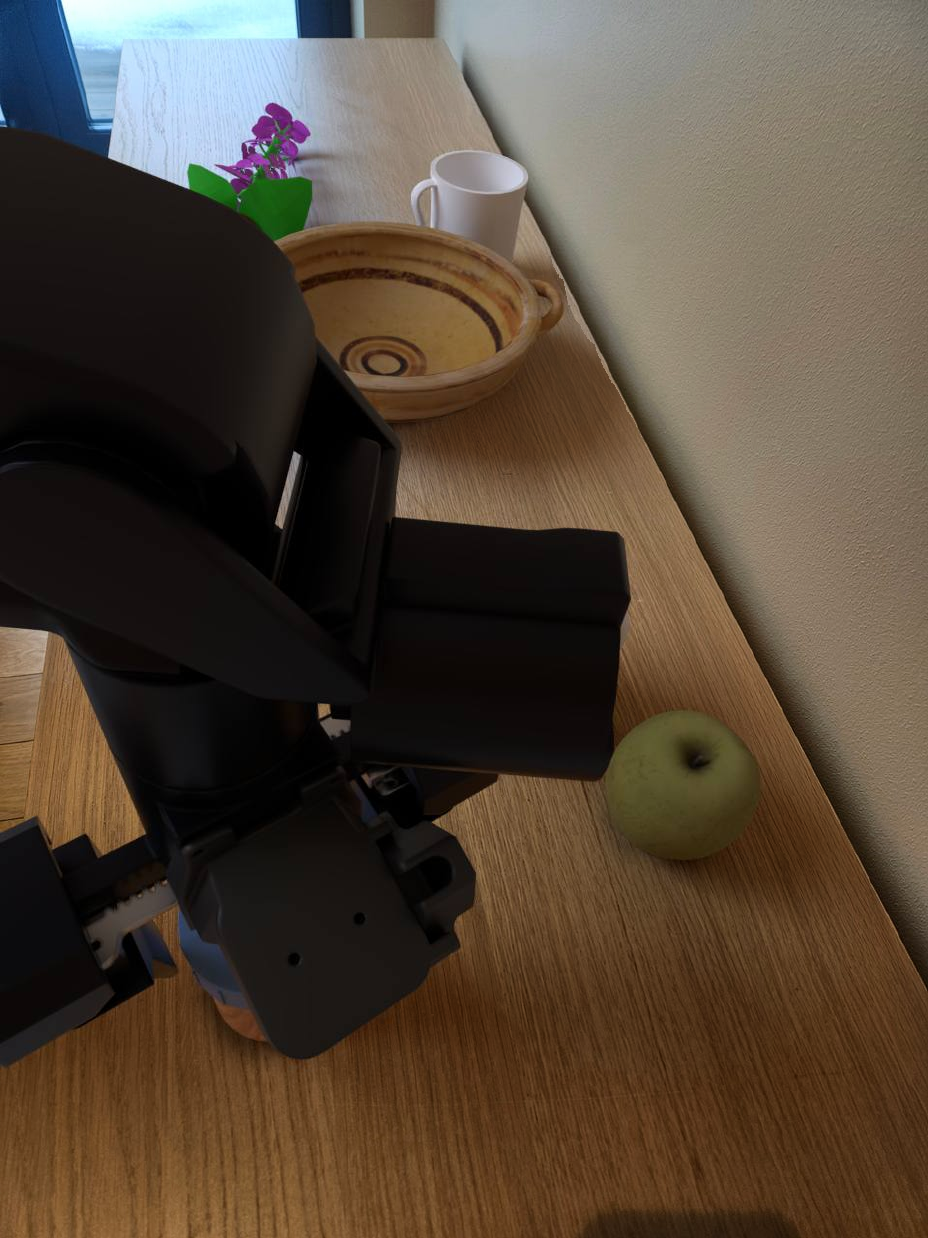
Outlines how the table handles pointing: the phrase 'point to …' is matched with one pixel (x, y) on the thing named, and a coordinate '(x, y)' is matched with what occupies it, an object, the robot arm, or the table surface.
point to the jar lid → (209, 967)
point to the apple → (682, 785)
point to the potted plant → (263, 177)
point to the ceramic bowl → (418, 313)
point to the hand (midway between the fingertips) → (260, 912)
